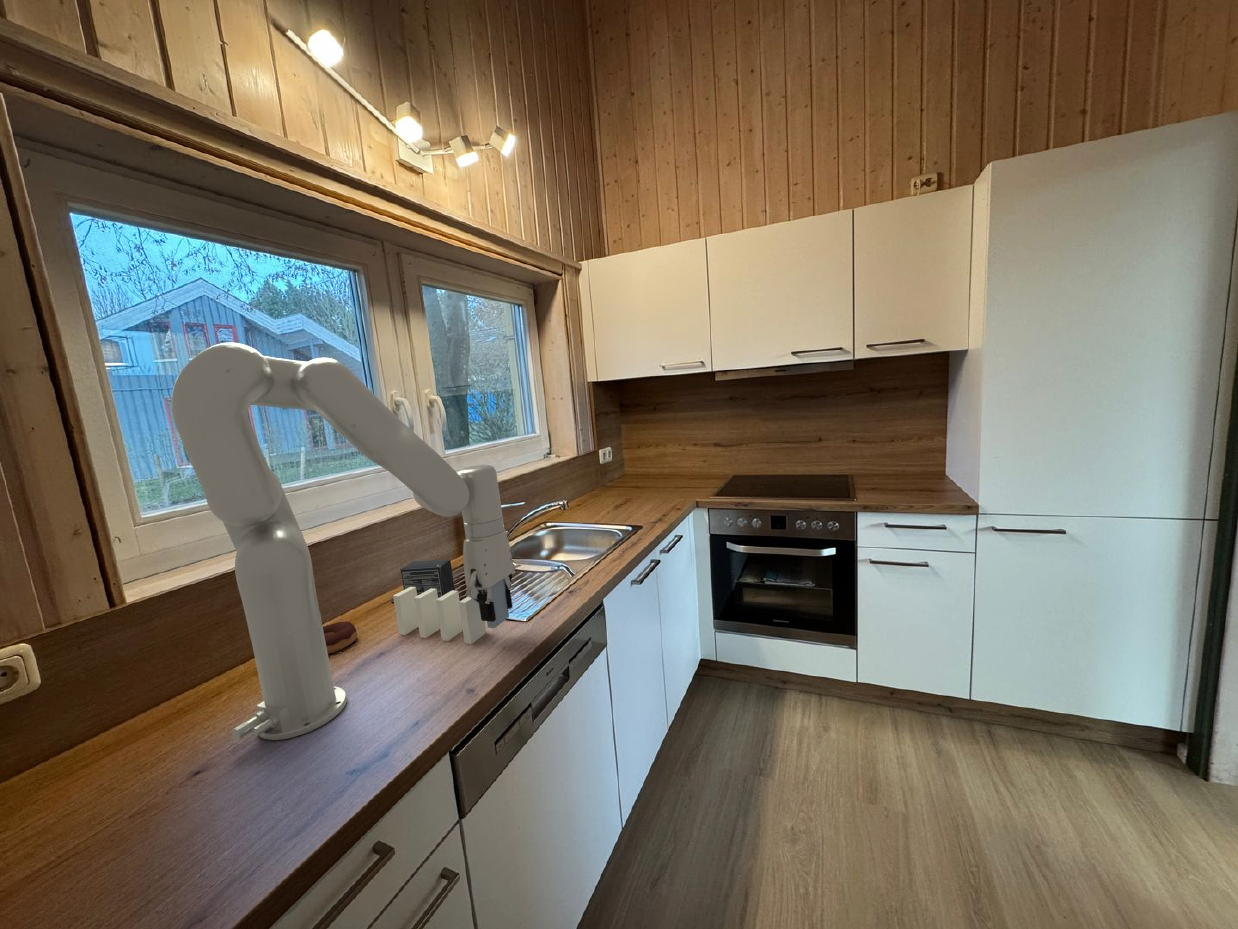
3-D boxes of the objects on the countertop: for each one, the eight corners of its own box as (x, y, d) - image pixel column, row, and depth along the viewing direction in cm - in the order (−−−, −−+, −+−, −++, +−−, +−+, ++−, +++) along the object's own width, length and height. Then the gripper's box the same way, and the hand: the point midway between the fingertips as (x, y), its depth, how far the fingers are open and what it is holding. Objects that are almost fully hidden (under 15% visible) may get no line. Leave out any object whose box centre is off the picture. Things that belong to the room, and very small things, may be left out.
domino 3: (463, 630, 108) (458, 590, 107) (448, 641, 103) (441, 600, 102) (458, 629, 108) (452, 590, 107) (442, 640, 104) (435, 599, 103)
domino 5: (487, 627, 99) (481, 585, 98) (502, 616, 103) (496, 575, 102) (494, 628, 98) (488, 585, 97) (509, 617, 103) (503, 575, 101)
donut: (294, 661, 101) (291, 643, 100) (319, 638, 111) (316, 622, 110) (345, 655, 102) (342, 637, 101) (365, 633, 111) (362, 616, 111)
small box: (457, 596, 127) (451, 557, 126) (446, 607, 121) (440, 566, 120) (418, 598, 129) (412, 560, 127) (405, 609, 122) (399, 569, 121)
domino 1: (421, 624, 113) (415, 587, 111) (404, 635, 108) (398, 596, 107) (416, 624, 113) (410, 586, 112) (399, 634, 109) (392, 595, 107)
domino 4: (486, 632, 106) (480, 592, 104) (471, 644, 101) (465, 602, 100) (480, 632, 106) (474, 592, 105) (464, 643, 102) (458, 602, 100)
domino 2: (442, 627, 110) (436, 589, 109) (425, 638, 106) (419, 598, 104) (436, 626, 111) (431, 588, 110) (420, 637, 106) (413, 597, 105)
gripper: (495, 516, 107) (506, 595, 110) (439, 541, 92) (454, 632, 94) (524, 516, 104) (535, 597, 107) (471, 542, 89) (486, 636, 91)
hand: (497, 613), depth 101 cm, fingers closed on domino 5, 4 cm apart
